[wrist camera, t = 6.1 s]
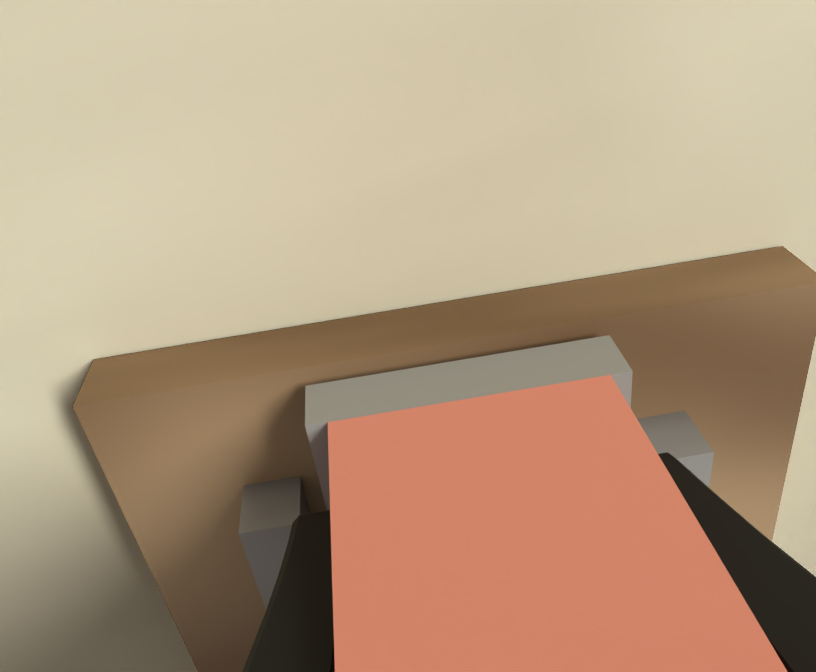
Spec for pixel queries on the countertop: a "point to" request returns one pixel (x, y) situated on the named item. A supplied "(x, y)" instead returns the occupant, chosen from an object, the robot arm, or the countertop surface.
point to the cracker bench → (420, 346)
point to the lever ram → (516, 524)
